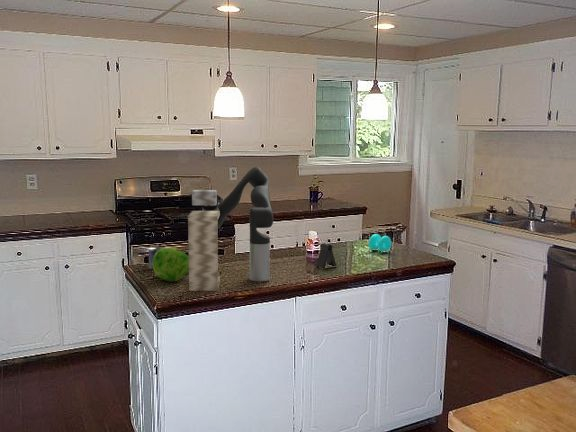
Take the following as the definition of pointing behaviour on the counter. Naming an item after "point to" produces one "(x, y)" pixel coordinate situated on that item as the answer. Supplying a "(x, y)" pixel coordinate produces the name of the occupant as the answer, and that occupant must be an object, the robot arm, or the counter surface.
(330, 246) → the door stopper
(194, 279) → the beige patterned upright block
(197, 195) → the grey patterned block
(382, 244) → the turquoise double oval
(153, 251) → the flask
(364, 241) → the counter surface
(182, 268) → the lettuce
